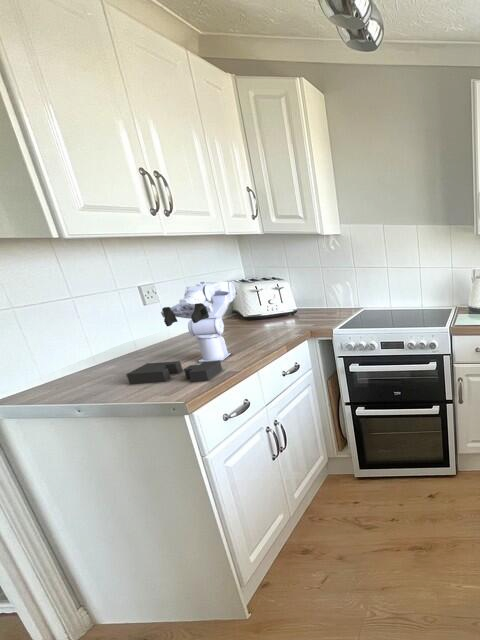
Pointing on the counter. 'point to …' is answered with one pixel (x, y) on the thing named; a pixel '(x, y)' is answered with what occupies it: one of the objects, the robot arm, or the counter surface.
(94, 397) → the counter surface
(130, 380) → the notch pad
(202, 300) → the robot arm
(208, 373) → the tab pad
